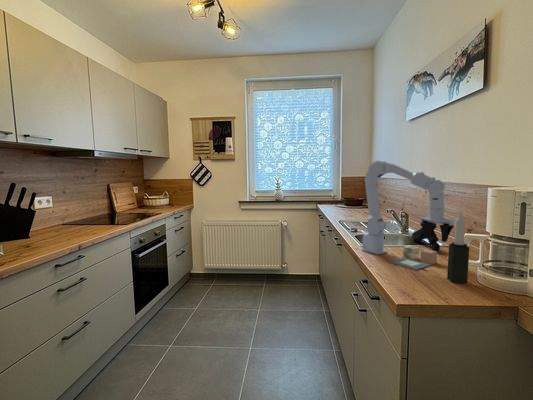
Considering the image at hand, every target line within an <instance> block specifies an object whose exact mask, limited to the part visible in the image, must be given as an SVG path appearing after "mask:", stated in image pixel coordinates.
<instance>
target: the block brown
mask: <svg viewBox="0 0 533 400" xmlns="http://www.w3.org/2000/svg"><path fill="white" fill-rule="evenodd" d="M437 261H438V252H437V251H433V250H432V249H427V248H425V249H422V250H420V261H419V262H423V263H427V264H431V266H432V265H434V264H437Z"/></svg>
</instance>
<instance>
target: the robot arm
mask: <svg viewBox="0 0 533 400" xmlns="http://www.w3.org/2000/svg"><path fill="white" fill-rule="evenodd" d="M367 168H368V170H367V172H366V174H365V177H364V184H365V185H364V186H365V194H366V200H367V209H368V218H367V224H366V230H367V232H364V234H363V235H362V248H361V251H364V252H367V253H370V254H374V255H380V254H381V255H383V254H384V253H385V254H386V253H388V250H384V246H385V232H384V230H385V229H386V227H387V226H386V222H385V221H384V218H383V216H382V214H381V208H380V207H381V206H380V201H379V192H378V185H377V181H379V180H380V178H381V177H382V176H384V175H386V174H395V175H397V176H400V177H403V178H405V179H408V180H409V181H410V183H411V184H412V185H414V186H416V187H418V188H420V189H423V190H424V191H426V190H427V191H428V194H429V195H428V216H420V217H419V220H420V222H419V225H420V226H421V228H423V230H424V232H425V236H426V238H427V240H428V238H431V229H432V225H433V223H435V224H439V228H440V231H441V242H442V243H443V242H444V243H446V242H448V239H449V236H450V233H451V231H452V230H453V228H455V220H453V219H448V218H445V192H444V191H445V189H446V184H445V183H444V182H443V181H442V180H441V179H436V177H431V176H429V175H427V174H425V172H423V171H421V172H419V171H416V172H412V171H409V170H408V169H406V168H403V167H401V166H398V165H396V164H394V163H391V162H386V161H381V160H376V161H373V162H372V163H371V164H370V165H369V166H368V167H367Z"/></svg>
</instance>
